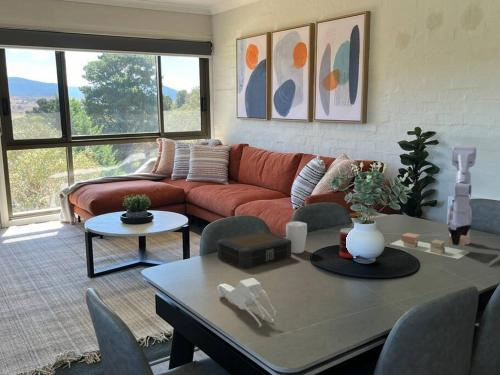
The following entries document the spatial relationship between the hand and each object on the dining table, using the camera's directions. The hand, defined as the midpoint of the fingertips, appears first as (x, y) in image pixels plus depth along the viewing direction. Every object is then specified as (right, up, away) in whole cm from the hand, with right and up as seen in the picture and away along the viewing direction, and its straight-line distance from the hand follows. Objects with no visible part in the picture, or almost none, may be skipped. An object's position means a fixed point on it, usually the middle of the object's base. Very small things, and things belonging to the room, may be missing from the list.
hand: (458, 243), depth 199 cm
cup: (-68, -4, +5) cm, 68 cm away
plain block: (-9, -4, 0) cm, 10 cm away
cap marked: (-17, 0, +8) cm, 19 cm away
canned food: (-47, -5, -2) cm, 47 cm away
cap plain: (0, 0, 0) cm, 0 cm away
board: (-10, -4, +6) cm, 12 cm away
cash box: (-86, -6, -4) cm, 86 cm away
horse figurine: (-90, -14, -55) cm, 106 cm away
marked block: (-17, -2, +9) cm, 19 cm away
